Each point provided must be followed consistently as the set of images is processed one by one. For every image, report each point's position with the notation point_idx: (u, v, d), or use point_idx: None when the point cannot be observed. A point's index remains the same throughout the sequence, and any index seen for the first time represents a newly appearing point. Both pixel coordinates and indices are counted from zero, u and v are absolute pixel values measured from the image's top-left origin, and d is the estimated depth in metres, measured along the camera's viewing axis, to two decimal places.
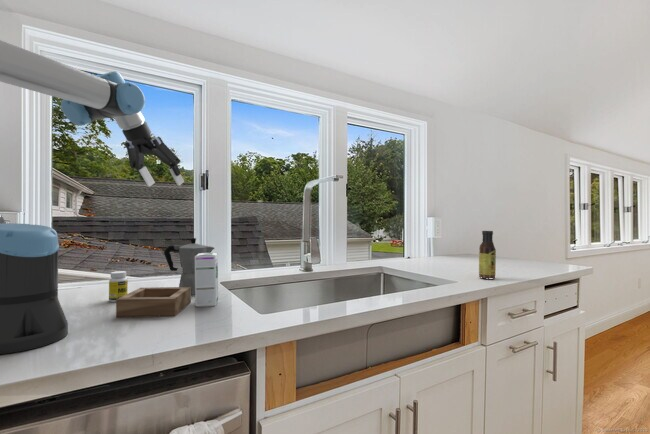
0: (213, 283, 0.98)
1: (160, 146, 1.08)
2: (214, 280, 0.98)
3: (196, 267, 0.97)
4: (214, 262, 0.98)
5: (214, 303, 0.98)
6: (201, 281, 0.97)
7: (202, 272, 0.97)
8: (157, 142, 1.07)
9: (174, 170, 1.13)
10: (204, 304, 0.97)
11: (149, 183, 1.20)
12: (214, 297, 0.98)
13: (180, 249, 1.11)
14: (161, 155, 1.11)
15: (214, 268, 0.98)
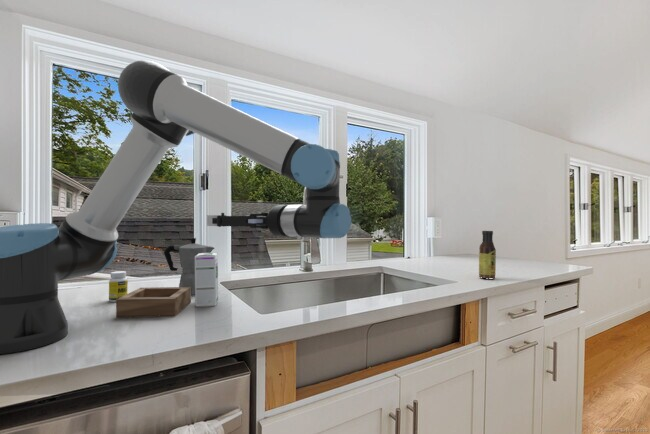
0: (213, 283, 0.98)
1: (245, 218, 0.81)
2: (214, 280, 0.98)
3: (196, 267, 0.97)
4: (214, 262, 0.98)
5: (214, 303, 0.98)
6: (201, 281, 0.97)
7: (202, 272, 0.97)
8: (250, 217, 0.80)
9: None
10: (204, 304, 0.97)
11: None
12: (214, 297, 0.98)
13: (180, 249, 1.11)
14: None
15: (214, 268, 0.98)
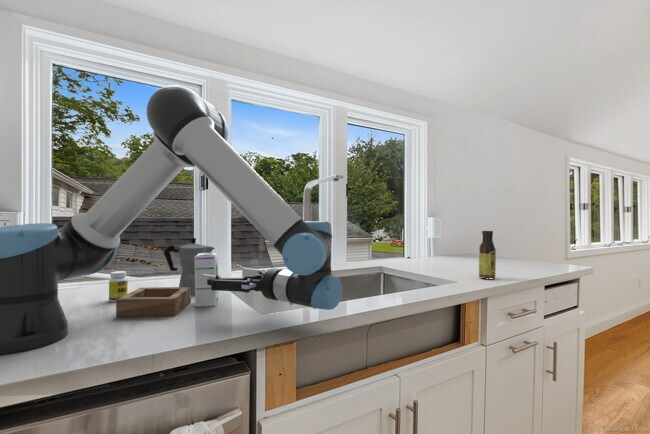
0: None
1: (238, 283, 0.82)
2: None
3: (196, 267, 0.97)
4: (214, 262, 0.98)
5: (214, 303, 0.98)
6: (201, 281, 0.97)
7: (202, 272, 0.97)
8: (243, 283, 0.82)
9: None
10: (204, 304, 0.97)
11: (244, 270, 1.01)
12: (214, 297, 0.98)
13: (180, 249, 1.11)
14: None
15: (214, 268, 0.98)
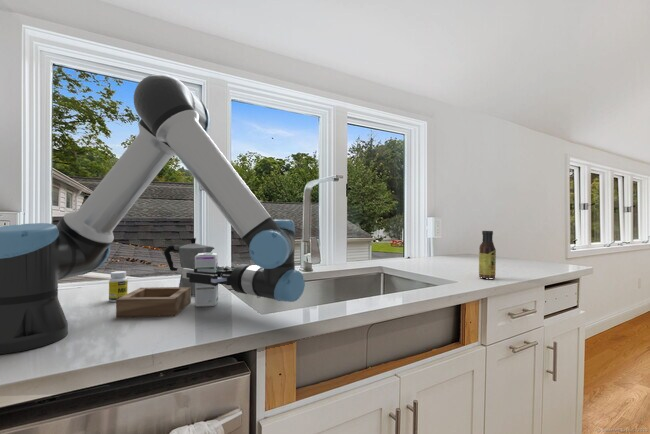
0: None
1: (208, 277, 0.89)
2: None
3: (196, 267, 0.97)
4: (214, 262, 0.98)
5: (214, 303, 0.98)
6: None
7: None
8: (211, 277, 0.88)
9: None
10: (204, 304, 0.97)
11: None
12: (214, 297, 0.98)
13: (180, 249, 1.11)
14: None
15: (214, 268, 0.98)
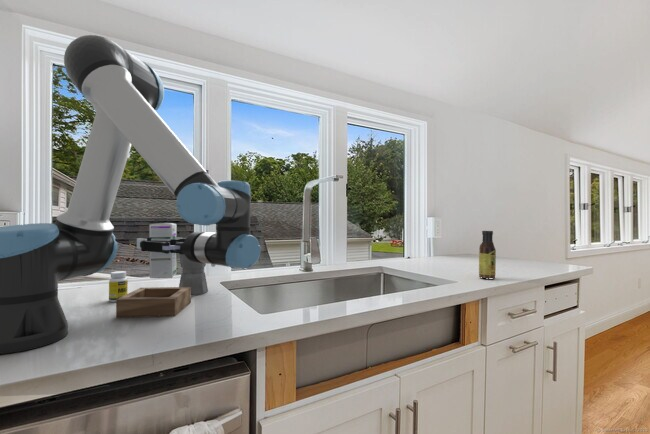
0: (169, 254, 0.92)
1: (160, 244, 0.83)
2: None
3: (151, 236, 0.91)
4: (171, 231, 0.92)
5: (170, 275, 0.92)
6: (156, 252, 0.91)
7: None
8: (163, 244, 0.83)
9: None
10: (159, 276, 0.91)
11: None
12: (170, 269, 0.92)
13: None
14: None
15: (170, 238, 0.92)
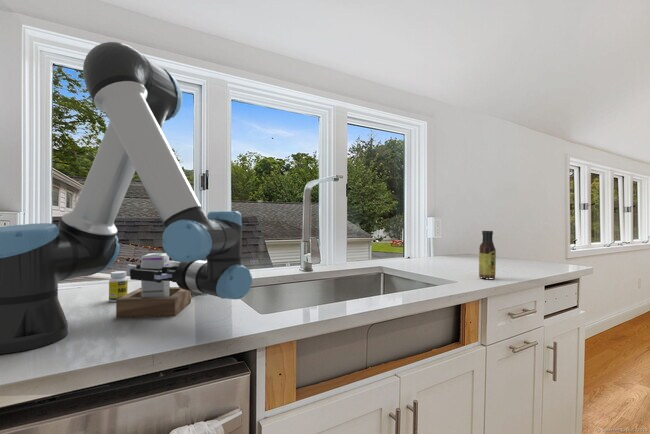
0: (161, 285, 0.91)
1: (152, 273, 0.82)
2: (163, 282, 0.91)
3: None
4: (163, 263, 0.91)
5: None
6: (148, 284, 0.90)
7: None
8: (155, 273, 0.82)
9: None
10: None
11: None
12: None
13: None
14: None
15: None
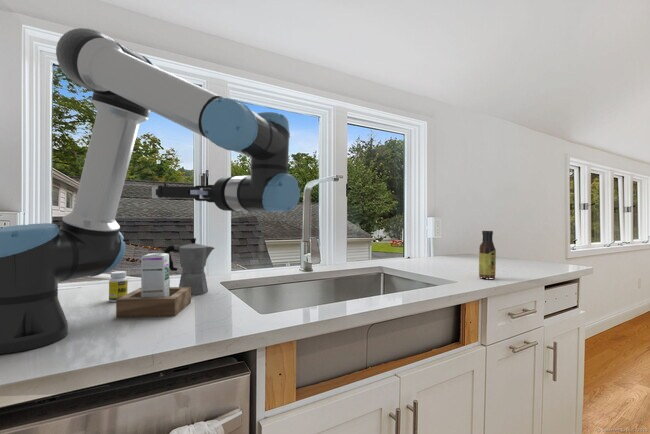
0: (161, 285, 0.91)
1: (187, 188, 0.74)
2: (162, 282, 0.91)
3: (143, 268, 0.90)
4: (162, 263, 0.91)
5: None
6: (148, 284, 0.90)
7: (149, 273, 0.90)
8: (192, 188, 0.74)
9: None
10: None
11: None
12: None
13: (180, 249, 1.11)
14: None
15: (162, 269, 0.91)
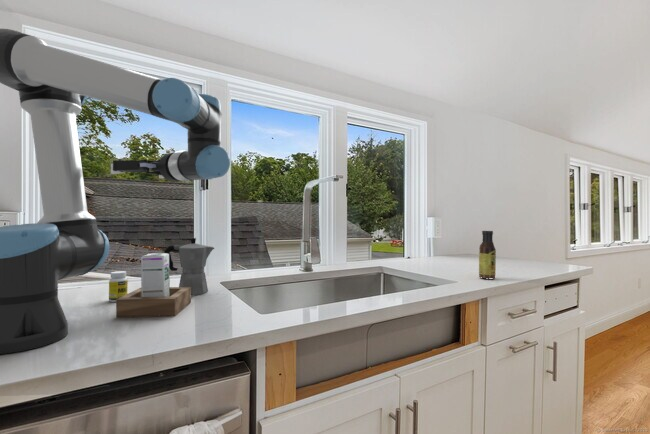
0: (161, 285, 0.91)
1: (137, 162, 0.87)
2: (162, 282, 0.91)
3: (143, 268, 0.90)
4: (162, 263, 0.91)
5: None
6: (148, 284, 0.90)
7: (149, 273, 0.90)
8: (141, 161, 0.86)
9: None
10: None
11: None
12: None
13: (180, 249, 1.11)
14: None
15: (162, 269, 0.91)
